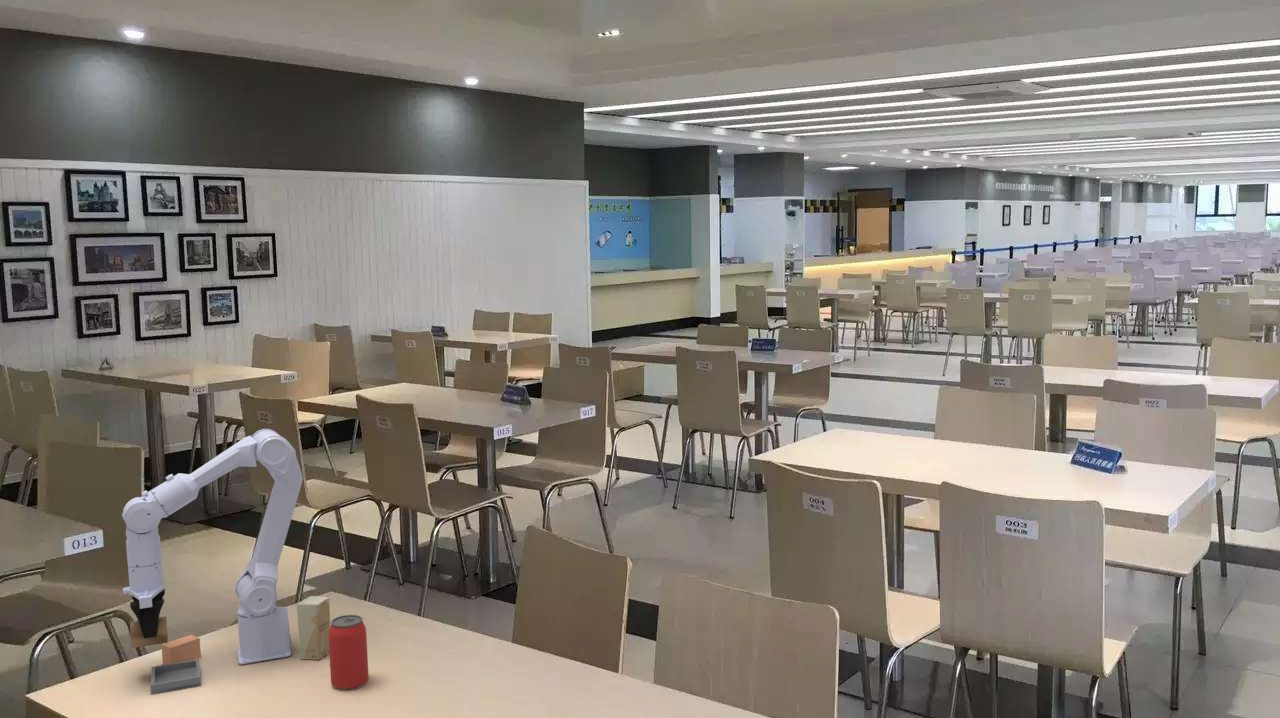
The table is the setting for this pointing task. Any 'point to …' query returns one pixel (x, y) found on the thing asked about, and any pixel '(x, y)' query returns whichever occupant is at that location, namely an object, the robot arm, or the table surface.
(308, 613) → the box
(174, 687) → the tray
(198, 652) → the terracotta brick
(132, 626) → the walnut brick
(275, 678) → the table surface
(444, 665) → the table surface
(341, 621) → the beer can
